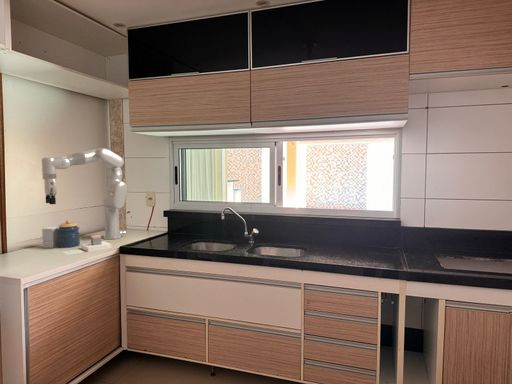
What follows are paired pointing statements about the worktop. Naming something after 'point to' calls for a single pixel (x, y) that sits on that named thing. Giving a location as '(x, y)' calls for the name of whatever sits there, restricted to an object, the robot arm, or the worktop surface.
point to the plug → (96, 240)
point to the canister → (68, 235)
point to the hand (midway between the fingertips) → (50, 203)
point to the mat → (72, 252)
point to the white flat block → (95, 246)
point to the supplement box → (50, 237)
